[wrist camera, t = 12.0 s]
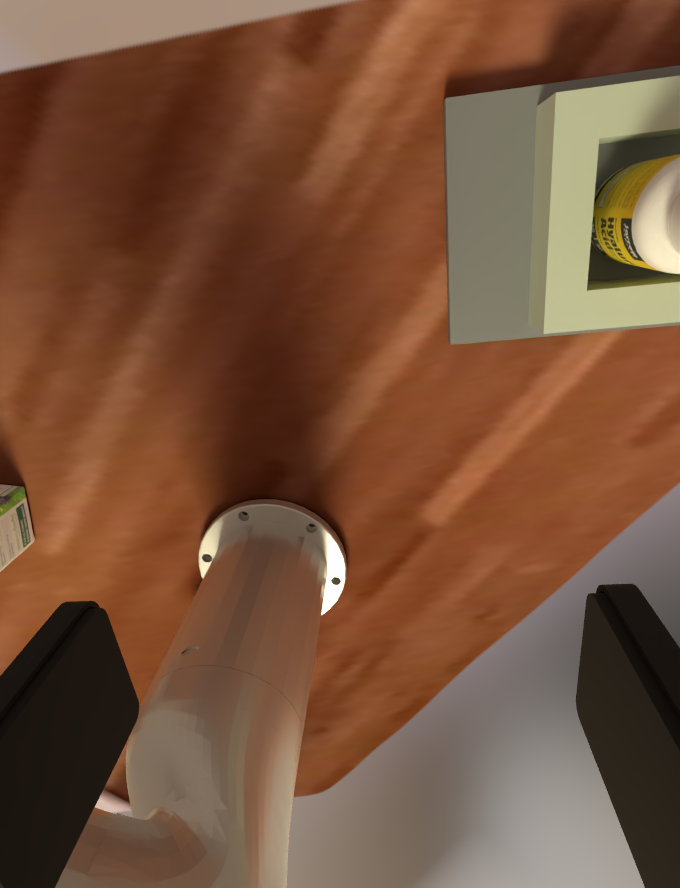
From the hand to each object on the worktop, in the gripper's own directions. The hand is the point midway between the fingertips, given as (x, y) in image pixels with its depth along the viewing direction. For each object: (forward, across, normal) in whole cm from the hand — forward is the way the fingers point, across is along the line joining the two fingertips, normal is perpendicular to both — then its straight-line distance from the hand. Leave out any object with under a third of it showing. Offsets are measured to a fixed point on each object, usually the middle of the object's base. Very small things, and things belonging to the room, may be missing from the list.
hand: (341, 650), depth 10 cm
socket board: (+28, -16, -6) cm, 33 cm away
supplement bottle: (+27, -16, -6) cm, 32 cm away
